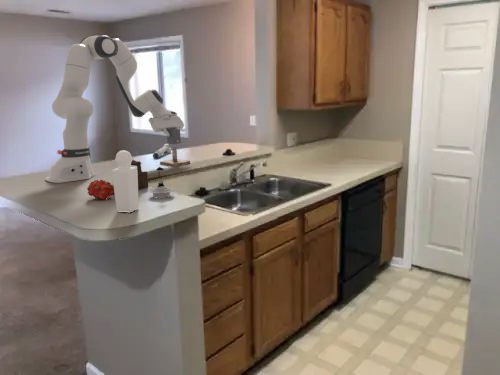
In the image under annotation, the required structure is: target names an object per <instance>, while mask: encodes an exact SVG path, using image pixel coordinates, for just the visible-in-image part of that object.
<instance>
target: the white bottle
mask: <svg viewBox="0 0 500 375" xmlns="http://www.w3.org/2000/svg"><path fill="white" fill-rule="evenodd" d="M132 160H134V159H133V156H132V154H131V153H130V151H128V150H124V149H123V150H119V151H118V152H117V153H116V155H115V159H114V161H115V163H116V164H117V168H114V169H112V170H111V176H112V183H113V186H114V193H115V195H114V200H115V207H116V212H117V211H128V212H131V211H133V210H135V209H137V208H140V207H139V189H138V170H137V166H132V165H131V162H132Z"/></svg>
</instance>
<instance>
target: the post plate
mask: <svg viewBox="0 0 500 375" xmlns="http://www.w3.org/2000/svg"><path fill="white" fill-rule="evenodd" d="M171 154H172V155H171V156H172V158H171V159H169V160H161V161H159V165H162V166H168V167H173V168H174V167H178V166H185V165H189V164H191V161H190V160H186V159H179V158H178V150H177V147H175V146H172V149H171Z"/></svg>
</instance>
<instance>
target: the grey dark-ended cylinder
mask: <svg viewBox="0 0 500 375" xmlns="http://www.w3.org/2000/svg"><path fill="white" fill-rule="evenodd" d="M165 153H168V154H172V147H171V146H170V144H168V143H164V144H163V146H162V147H161V148H159V149H158V150H155V152H153V154H152V158H153V159H159V158H160V157H161V158H162V155H163V154H165Z"/></svg>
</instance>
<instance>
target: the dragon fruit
mask: <svg viewBox="0 0 500 375" xmlns="http://www.w3.org/2000/svg"><path fill="white" fill-rule="evenodd" d="M87 195H88V196H90V197H94V198H95V200H98V199H101V200H105V199H106V198H108V200H111V199H112V197H114V196H115V193H114V185H112V184H111V182H110V181H106V180H103V179H100V180H98V179H94V180H93V181H91V182H90V183H89V185H88V187H87Z"/></svg>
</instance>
